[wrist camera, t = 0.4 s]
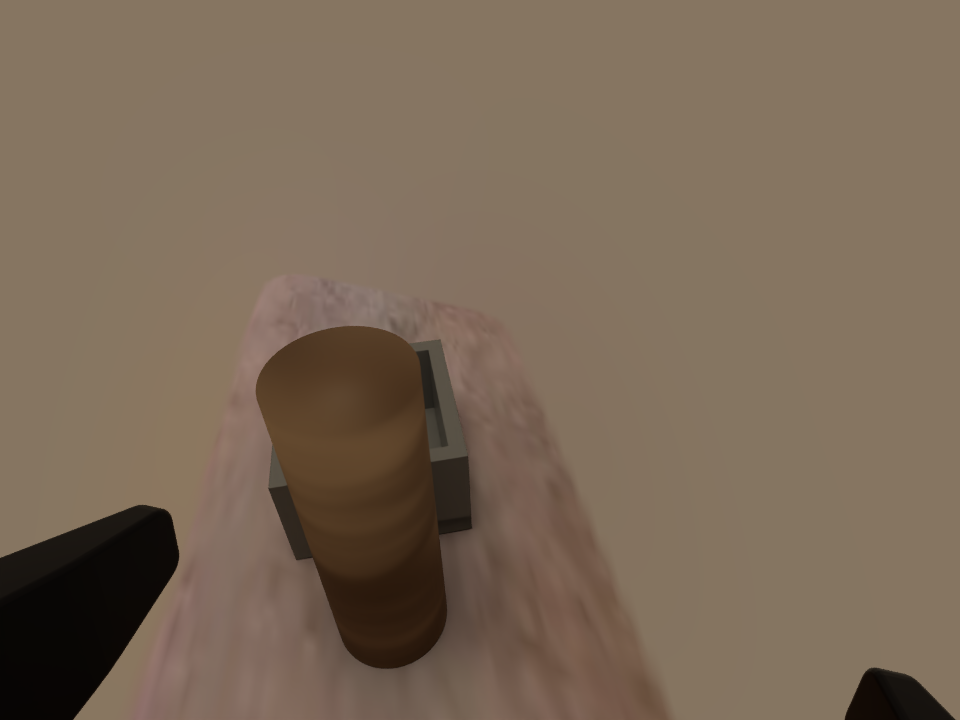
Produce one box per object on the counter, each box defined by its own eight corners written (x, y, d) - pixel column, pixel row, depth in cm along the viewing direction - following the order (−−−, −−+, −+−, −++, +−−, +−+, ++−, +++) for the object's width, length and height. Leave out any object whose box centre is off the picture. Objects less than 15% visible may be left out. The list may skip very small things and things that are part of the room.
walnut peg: (420, 685, 23) (373, 452, 14) (318, 646, 24) (220, 410, 15) (462, 582, 26) (444, 342, 17) (370, 552, 27) (313, 314, 19)
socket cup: (471, 528, 28) (467, 455, 25) (295, 559, 27) (268, 488, 24) (446, 409, 34) (440, 339, 31) (301, 432, 33) (280, 361, 29)
